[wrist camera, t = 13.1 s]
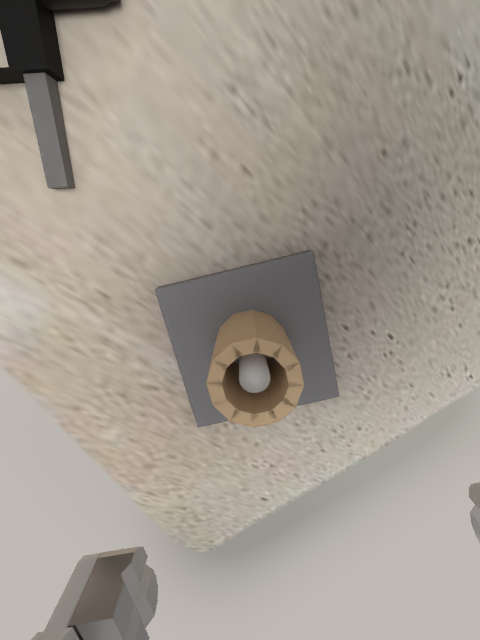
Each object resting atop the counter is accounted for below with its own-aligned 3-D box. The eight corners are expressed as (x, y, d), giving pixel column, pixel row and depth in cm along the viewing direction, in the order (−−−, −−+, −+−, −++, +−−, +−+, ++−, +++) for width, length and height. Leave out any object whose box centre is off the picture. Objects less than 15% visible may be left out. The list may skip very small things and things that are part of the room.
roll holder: (309, 250, 29) (336, 257, 21) (334, 389, 33) (367, 441, 24) (158, 287, 30) (128, 307, 22) (199, 418, 33) (186, 479, 25)
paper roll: (278, 303, 29) (292, 329, 21) (292, 368, 30) (310, 415, 23) (208, 320, 29) (197, 351, 21) (225, 383, 31) (221, 434, 23)
